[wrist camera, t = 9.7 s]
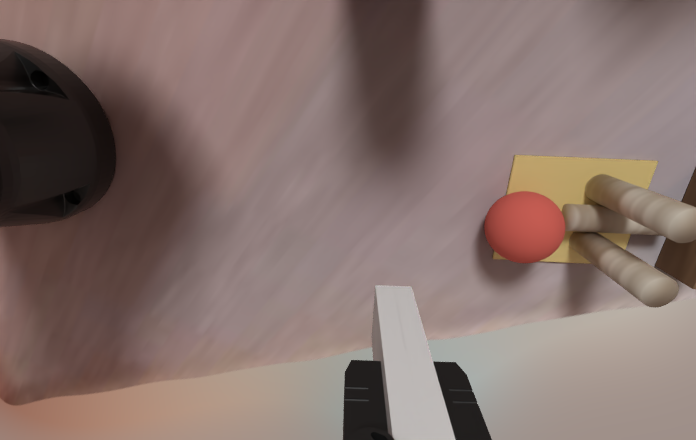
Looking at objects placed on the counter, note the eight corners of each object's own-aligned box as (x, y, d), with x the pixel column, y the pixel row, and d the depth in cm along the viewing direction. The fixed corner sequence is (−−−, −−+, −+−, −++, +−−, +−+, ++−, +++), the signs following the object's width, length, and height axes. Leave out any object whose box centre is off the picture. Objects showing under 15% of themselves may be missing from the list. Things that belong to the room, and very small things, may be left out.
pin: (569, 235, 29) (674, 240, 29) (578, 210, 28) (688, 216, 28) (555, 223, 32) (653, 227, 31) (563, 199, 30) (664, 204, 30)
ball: (556, 257, 30) (488, 236, 33) (578, 193, 28) (502, 177, 31) (547, 286, 26) (468, 259, 29) (572, 213, 23) (484, 192, 27)
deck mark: (492, 258, 33) (493, 259, 33) (514, 155, 29) (515, 155, 29) (617, 264, 33) (619, 264, 32) (656, 160, 29) (658, 161, 29)
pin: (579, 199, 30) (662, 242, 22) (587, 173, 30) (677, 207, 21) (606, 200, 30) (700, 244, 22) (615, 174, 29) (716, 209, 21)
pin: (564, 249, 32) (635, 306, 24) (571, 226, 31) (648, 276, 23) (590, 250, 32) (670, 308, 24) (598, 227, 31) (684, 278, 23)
